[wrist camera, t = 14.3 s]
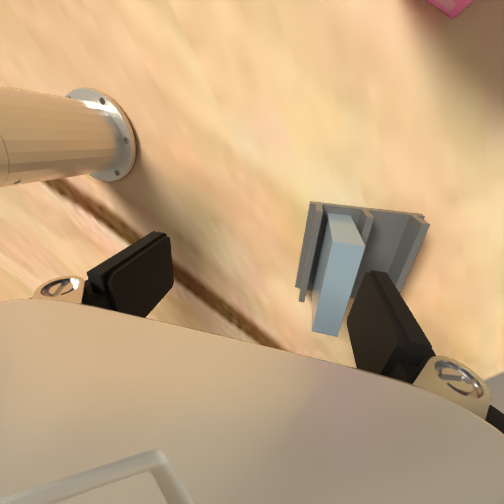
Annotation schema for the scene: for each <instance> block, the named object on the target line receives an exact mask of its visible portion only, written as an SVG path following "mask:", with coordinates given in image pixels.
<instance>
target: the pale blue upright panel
mask: <svg viewBox="0 0 504 504" xmlns="http://www.w3.org/2000/svg"><path fill="white" fill-rule="evenodd" d="M364 249H365V244H364V242H363V240H362V238H361V236H360V234H359V232H358V230H357V228H356V225H355V223H354V221H353V219H352V217H351V216H350V215H342V214H333V213H327V218H326V223H325V227H324V232H323V237H322V242H321V246H320V251H319V256H318V261H317V266H316V270H315V275H314V280H313V285H312V331H313V332H317V333H322V334H327V335H331V336H336V337H337V336H338V333H339V330H340V327H341V323H342V320H343V317H344V314H345V311H346V307H347V304H348V301H349V298H350V294H351V291H352V288H353V285H354V282H355V278H356V275H357V272H358V269H359V265H360V262H361V259H362V256H363V252H364Z"/></svg>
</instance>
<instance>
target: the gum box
mask: <svg viewBox="0 0 504 504" xmlns="http://www.w3.org/2000/svg"><path fill="white" fill-rule="evenodd" d="M427 1H428V2H430V3H431V4H433V5H434V6H436V7H437V8H439V9H440V10H441V11H443V12H444V13H445V14H447V15H448V16H450V17H451V18H455V17H456V16H457V15H458V14H460V13H461V12H462V11H463V10H464V9H465V8H467V7H468V6H469V5H470V4H471V3H473V2H474V1H475V0H427Z"/></svg>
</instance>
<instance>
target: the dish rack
mask: <svg viewBox="0 0 504 504" xmlns="http://www.w3.org/2000/svg"><path fill="white" fill-rule="evenodd" d="M327 213H333V214H342V215H350V216H351V217H352V219H353V221H354V223H355V225H356V228H357V230H358V232H359V234H360V236H361V238H362V240H363V242H364V244H365V249H364V252H363V256H362V259H361V262H360V265H359V269H358V272H357V275H356V278H355V282H354V285H353V288H352V291H351V294H350V298H356V295H357V293H358V290H359V287H360V285H361V282H362V280H363V277H364V275H365V273H366V272H368V273H369V272H370V271H371V270H376V271H381V272H386V273H387V274H388V275H389V277H390V279H391V280H392V282H393V283H394V285H395V287H396V288H397V290H398V292H399V293H400V291H401V289H402V287H403V285H404V282H405V280H406V278H407V276H408V273H409V271H410V269H411V267H412V264H413V262H414V260H415V258H416V255H417V253H418V251H419V248H420V246H421V244H422V242H423V239H424V237H425V235H426V233H427V230H428V228H429V226H430V224H428V223H427V222H426V221H424V220H423V219H424V217H425V216H423V215H422V214H415V213H407V212H398V211H389V210H381V209H372V208H363V207H355V206H346V205H337V204H329V203H320V202H311V201H310V205H309V211H308V217H307V222H306V228H305V234H304V239H303V245H302V251H301V256H300V262H299V268H298V273H297V279H296V285H295V287H297V288H300V294H299V301H300V302H304V301H305V296H306V291H307V289H308V290H312V285H313V280H314V275H315V270H316V266H317V261H318V256H319V251H320V246H321V242H322V237H323V232H324V227H325V223H326V218H327Z"/></svg>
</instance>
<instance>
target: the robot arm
mask: <svg viewBox="0 0 504 504" xmlns="http://www.w3.org/2000/svg"><path fill="white" fill-rule="evenodd" d="M135 156H136V145H135V138H134V134H133V130H132V128H131V125H130V123H129V121H128V119H127V117H126V115H125V114H124V112H123V111H122V109H121V108H120V107H119V106H118V104H117V103H116V102H114V101H113V100H112V99H111V98H110V97H109V96H107V95H106V94H104V93H102V92H100V91H97V90H94V89H90V88H77V89H73V90H72V91H70V92H69V93H68V94H67V95H66V96H65V97H62V96H56V95H50V94H45V93H39V92H33V91H27V90H22V89H16V88H10V87H4V86H0V187H4V186H11V185H18V184H25V183H31V182H38V181H45V180H52V179H58V178H65V177H72V176H79V175H85V174H89V175H91V176H92V177H94V178H96V179H99V180H102V181H115V180H119V179H121V178H123V177H125V176H126V175H127V174H128V173H129V172H130V170H131V169H132V167H133V164H134V161H135ZM87 275H88V280H86V281H85V282H84V279H82V278H81V277H78V276H64V277H59V278H55V279H53V280H50V281H48V282H46V283H44V284H42V285H41V286H39V287H38V288H37V290H36V291H35V293H34V295H33V297H32V298H30V299H20V300H11V301H4V302H0V504H504V414H503V413H501V412H500V411H498V410H497V409H496V408H494V407H493V406H492V405H490V401H491V393H490V391H489V389H488V387H487V385H486V384H485V383H484V382H483V380H482V379H481V378H480V377H479V376H478V375H477V374H475V373H474V372H473V371H472V370H471V369H469V368H468V367H466V366H465V365H463V364H461V363H459V362H457V361H455V360H453V359H450V358H447V357H443V356H436V355H435V353H434V351H433V350H432V348H431V347H432V346H431V344H430V342H429V341H428V339H427V337H426V336H425V334H424V332H423V331H422V329H421V328H420V326H419V324H418V323H417V321H416V319H415V318H414V316H413V314H412V313H411V311H410V310H409V308H408V306H407V305H406V303H405V301H404V300H403V298H402V297H401V295H400V293H399V292H398V290H397V288H396V287H395V285H394V283H393V282H392V280H391V279H390V277H389V275H388V274H387V273H386V272H381V271H376V270H371V271H370V272H369V273H368V272H366V273H365V275H364V277H363V280H362V282H361V285H360V287H359V290H358V293H357V295H356V298H355V300H354V303H353V305H352V308H351V311H350V313H349V316H348V319H347V327H348V332H349V336H350V340H351V345H352V349H353V354H354V358H355V362H356V367H357V368H353V367H349V366H345V365H341V364H336V363H332V362H328V361H324V360H320V359H316V358H312V357H308V356H303V355H299V354H295V353H291V352H287V351H283V350H279V349H274V348H270V347H266V346H262V345H258V344H253V343H249V342H245V341H241V340H237V339H232V338H228V337H224V336H220V335H216V334H211V333H207V332H203V331H199V330H194V329H190V328H186V327H182V326H177V325H173V324H169V323H165V322H161V321H156V320H152V319H148V318H145V317H146V316H147V315H148V314H149V313H150V312H151V311H152V310H153V308H154V307H155V306H156V305H157V304H158V303H159V302H160V301H161V299H162V298H163V297H164V296H165V295H166V294H167V293H168V291H169V290H170V289H171V288H172V286H173V283H174V279H173V268H172V256H171V245H170V238H169V237H167V235H166V234H165V233H161V232H155V231H153V232H151V233H150V234H148V235H146V236H145V237H143V238H142V239H140V240H138V241H137V242H135V243H133V244H132V245H130V246H129V247H127V248H125V249H124V250H122V251H120V252H119V253H117V254H116V255H114V256H112V257H111V258H109V259H107V260H106V261H104V262H103V263H101V264H99V265H98V266H96V267H94V268H93V269H91V270H90V271H88V272H87Z"/></svg>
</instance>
